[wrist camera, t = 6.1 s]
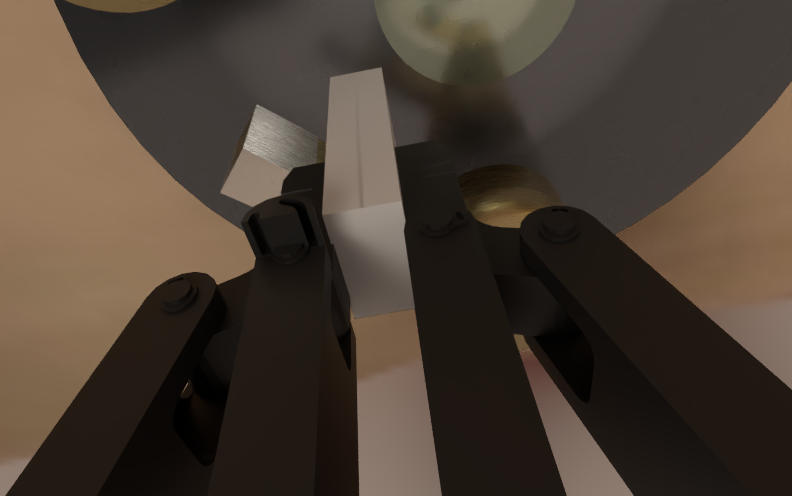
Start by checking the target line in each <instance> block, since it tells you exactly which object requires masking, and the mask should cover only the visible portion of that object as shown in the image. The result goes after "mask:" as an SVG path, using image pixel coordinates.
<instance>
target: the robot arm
mask: <svg viewBox="0 0 792 496" xmlns="http://www.w3.org/2000/svg"><path fill="white" fill-rule="evenodd" d="M241 225H242V227H243V229H244V232H245V234H246V236H247V239H248V241H249V243H250V245H251V248H252V250H253V252H254V254H255V257H256V261H255V266H254V268H253V269H252V270H250V271H249V272H247V273H245V274H243V275H240V276H238V277H236V278H233V279H231V280H228V281H226V282H224V283H221V284H219V285H217V284H216V282H215V280H214V279H213V278H212V277H210V276H209V275H208V274H206V273H199V272H192V273H185V274H181V275H178V276H176V277H173V278H171V279H168V280H167V281H165V282H164V283H162V284H161V285H159V286H158V287H156V288H155V289H154V290H153V291H152V292H151V294H150V295H149V296H148V297H147V298H146V299H145V301H144V302H143V303H142V305H141V306H140V308H139V309H138V310H137V312H136V313H135V315H134V316H133V317H132V319H131V320H130V322H129V323H128V324H127V326H126V327H125V329H124V330H123V331H122V333H121V334H120V336H119V337H118V339H117V340H116V341H115V343H114V344H113V346H112V347H111V348H110V350H109V351H108V353H107V354H106V355H105V357H104V358H103V360H102V361H101V362H100V364H99V365H98V367H97V368H96V369H95V371H94V372H93V374H92V375H91V376H90V378H89V379H88V381H87V382H86V383H85V385H84V386H83V388H82V389H81V390H80V392H79V393H78V395H77V396H76V397H75V399H74V400H73V402H72V403H71V404H70V406H69V407H68V409H67V410H66V411H65V413H64V414H63V416H62V417H61V418H60V420H59V421H58V423H57V424H56V425H55V427H54V428H53V430H52V431H51V432H50V434H49V435H48V437H47V438H46V439H45V441H44V442H43V444H42V445H41V447H40V448H39V449H38V451H37V452H36V454H35V455H34V456H33V458H32V459H31V461H30V462H29V463H28V465H27V466H26V468H25V469H24V470H23V472H22V473H21V475H20V476H19V477H18V479H17V480H16V482H15V483H14V484H13V486H12V487H11V489H10V490H9V491H8V493H7V494H6V496H359V470H358V469H359V467H358V422H357V421H358V420H357V372H356V338H355V334H354V331H353V328H352V324H351V321H350V305H351V309H352V312H353V315H354V318H355V319H357V318H363V317H369V316H374V315H380V314H386V313H392V312H397V311H403V310H409V309H415V313H416V320H417V327H418V333H419V340H420V347H421V354H422V361H423V368H424V374H425V382H426V388H427V395H428V402H429V409H430V416H431V423H432V430H433V437H434V443H435V451H436V458H437V464H438V471H439V478H440V485H441V492H442V496H566V492H565V489H564V486H563V483H562V480H561V477H560V474H559V471H558V468H557V465H556V462H555V459H554V456H553V453H552V450H551V447H550V444H549V441H548V438H547V435H546V432H545V429H544V426H543V423H542V420H541V417H540V414H539V410H538V407H537V404H536V401H535V398H534V395H533V392H532V389H531V387H530V383H529V380H528V377H527V374H526V371H525V368H524V366H523V362H522V359H521V356H520V353H519V350H518V347H517V344H516V341H515V338H514V335H513V334H517V335H523V337H524V339H525V342H526V343H527V345H528V346H529V348H530V349H531V350H532V352H533V353H534V355H535V356H536V357H537V359H538V360H539V362H540V363H541V365H542V366H543V367H544V369H545V370H546V372H547V373H548V374H549V376H550V377H551V379H552V380H553V381H554V383H555V384H556V386H557V387H558V389H559V390H560V392H561V393H562V394H563V396H564V397H565V399H566V400H567V401H568V403H569V404H570V405H571V407H572V409H573V410H574V411H575V413H576V414H577V416H578V417H579V418H580V420H581V421H582V423H583V424H584V425H585V427H586V428H587V430H588V431H589V433H590V434H591V435H592V437H593V438H594V440H595V441H596V442H597V444H598V445H599V447H600V448H601V450H602V451H603V452H604V454H605V455H606V457H607V458H608V460H609V461H610V462H611V464H612V465H613V467H614V468H615V469H616V471H617V472H618V474H619V475H620V477H621V478H622V479H623V481H624V482H625V484H626V485H627V487H628V488H629V489H630V491H631V492H632V493H633V495H634V496H792V390H791V389H790V388H789V387H788V386H787V385H786V384H785V383H783V382H782V381H781V380H780V379H779V378H778V377H777V376H775V375H774V374H773V373H772V372H771V371H770V370H768V369H767V368H766V367H765V366H764V365H763V364H762V363H761V362H759V361H758V360H757V359H756V358H755V357H753V355H751V354H750V353H749V352H748V351H747V350H746V349H745V348H743V347H742V346H741V345H740V344H739V343H738V342H737V341H735V340H734V339H733V338H732V337H731V336H730V335H729V334H727V333H726V332H725V331H724V330H723V329H722V328H720V327H719V326H718V325H717V324H716V323H715V322H714V321H712V320H711V319H710V318H709V317H708V316H707V315H706V314H705V313H703V312H702V311H701V310H700V309H699V308H698V307H697V306H695V305H694V304H693V303H692V302H691V301H690V300H689V299H687V298H686V297H685V296H684V295H683V294H682V293H681V292H679V291H678V290H677V289H676V288H675V287H674V286H673V285H671V284H670V283H669V282H668V281H667V280H666V279H665V278H663V277H662V276H661V275H660V274H659V273H658V272H657V271H655V270H654V269H653V268H652V267H651V266H650V265H649V264H647V263H646V262H645V261H644V260H643V259H642V258H641V257H639V256H638V255H637V254H636V253H635V252H634V251H633V250H631V249H630V248H629V247H628V246H627V245H626V244H625V243H623V242H622V241H621V240H620V239H619V238H618V237H617V236H615V235H614V234H613V233H612V232H611V231H610V230H609V229H607V228H606V227H605V226H604V225H603V224H602V223H601V222H599V221H598V220H597V219H596V218H595V217H594V216H592V215H590V214H589V213H587V212H585V211H584V210H582V209H578V208H574V207H570V206H549V207H544V208H539V209H537V210H535V211H533V212H531V213H529V214H528V215H527V216H526V217H525V218H524V219H523V220H522V222H521V225H520V228H510V227H497V226H491V225H488V224H484V223H482V222H480V221H478V220H476V219H475V218H474V216H473V215H472V213H471V212H470V211H469V210H467V208H466V205H465V202H464V198H463V195H462V192H461V189H460V186H459V183H458V179H457V176H456V173H455V170H454V167H453V164H452V161H451V157H450V154H449V151H448V148H446V147H445V146H444V145H442V144H441V143H440V142H438V141H437V140H431V141H425V142H420V143H415V144H409V145H404V146H399V147H396V143H395V138H394V133H393V127H392V122H391V116H390V111H389V106H388V100H387V95H386V90H385V84H384V79H383V73H382V68H376V69H371V70H365V71H360V72H355V73H350V74H345V75H340V76H335V77H330V88H329V105H328V122H327V139H326V156H325V162H322V163H316V164H311V165H305V166H300V167H295V168H293V169H292V170H291V171H290V173H289V174H288V175H287V176H286V178H285V179H284V180H283V184H282V190H281V196H277V197H274V198H270V199H267V200H265V201H263V202H261V203H259V204H257V205H255V206H254V207H253V208H252V209H251V210H249V211H248V212H247V213H246V214H245V216H244V217H243V219H242V221H241ZM187 382H188V385H187V387H186V389H185V390H184V388H185V386H186V384H187ZM183 390H184V392H183ZM182 392H183V393H182ZM181 393H182V394H181Z"/></svg>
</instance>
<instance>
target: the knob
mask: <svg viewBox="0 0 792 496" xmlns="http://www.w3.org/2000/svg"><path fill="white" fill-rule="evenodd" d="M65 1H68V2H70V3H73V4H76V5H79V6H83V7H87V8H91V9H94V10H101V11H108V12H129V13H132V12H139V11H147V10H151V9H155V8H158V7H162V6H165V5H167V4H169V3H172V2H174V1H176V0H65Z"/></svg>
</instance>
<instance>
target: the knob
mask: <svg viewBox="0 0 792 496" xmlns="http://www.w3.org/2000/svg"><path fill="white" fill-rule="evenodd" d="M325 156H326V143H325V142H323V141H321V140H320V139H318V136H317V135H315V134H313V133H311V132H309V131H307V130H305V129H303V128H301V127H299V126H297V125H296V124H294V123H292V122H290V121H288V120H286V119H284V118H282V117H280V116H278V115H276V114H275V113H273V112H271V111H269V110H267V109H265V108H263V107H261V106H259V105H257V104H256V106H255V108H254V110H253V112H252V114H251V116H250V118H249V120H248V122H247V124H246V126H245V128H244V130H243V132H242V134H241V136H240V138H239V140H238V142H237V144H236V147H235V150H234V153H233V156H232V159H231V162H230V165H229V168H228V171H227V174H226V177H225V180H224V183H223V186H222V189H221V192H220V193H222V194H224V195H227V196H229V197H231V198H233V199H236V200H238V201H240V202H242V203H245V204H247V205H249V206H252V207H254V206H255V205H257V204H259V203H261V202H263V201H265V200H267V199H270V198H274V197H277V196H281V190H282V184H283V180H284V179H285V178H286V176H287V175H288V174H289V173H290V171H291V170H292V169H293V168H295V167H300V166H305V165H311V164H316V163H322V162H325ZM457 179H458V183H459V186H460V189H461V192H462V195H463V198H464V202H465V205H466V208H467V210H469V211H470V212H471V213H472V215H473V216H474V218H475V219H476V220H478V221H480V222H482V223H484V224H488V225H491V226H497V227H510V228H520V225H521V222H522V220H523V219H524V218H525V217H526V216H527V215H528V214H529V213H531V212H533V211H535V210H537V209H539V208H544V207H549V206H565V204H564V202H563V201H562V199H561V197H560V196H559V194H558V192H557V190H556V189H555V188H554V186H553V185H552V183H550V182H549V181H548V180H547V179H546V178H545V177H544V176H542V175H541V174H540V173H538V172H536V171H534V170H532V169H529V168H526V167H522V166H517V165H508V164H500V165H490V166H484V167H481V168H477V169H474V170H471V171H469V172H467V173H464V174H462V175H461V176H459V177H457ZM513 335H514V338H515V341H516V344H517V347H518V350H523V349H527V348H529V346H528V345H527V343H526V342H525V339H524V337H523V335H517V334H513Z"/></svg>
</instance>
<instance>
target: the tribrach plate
mask: <svg viewBox="0 0 792 496" xmlns="http://www.w3.org/2000/svg"><path fill="white" fill-rule="evenodd" d="M54 2H55V4H56V6H57V8H58V10H59V12H60V14H61V16H62V18H63V21H64V23H65V25H66V27H67V29H68V31H69V33H70V35H71V37H72V39H73V42H74V44H75V46H76V48H77V50H78V52H79V54H80V56H81V58H82V60H83V61H84V63H85V65H86V66H87V68H88V69H89V71H90V73H91V74H92V76H93V78H94V79H95V81H96V82H97V84H98V86H99V87H100V89H101V91H102V92H103V94H104V95H105V97H106V99H107V100H108V102H109V103H110V105H111V106H112V108H113V109H114V110H115V112H116V113H117V114H118V115H119V117H120V118H121V119H122V121H123V122H124V123H125V124H126V126H127V127H128V128H129V130H130V131H131V132H132V133H133V135H134V136H135V137H136V139H137V140H138V141H139V142H140V144H141V145H142V146H143V147H144V148H145V149H146V150H147V151H148V152H149V153H150V154H151V155H152V156H153V158H154V159H155V160H156V161H157V162H158V163H159V164H160V165H161V166H162V167H163V168H164V169H165V170H166V171H167V172H168V173H169V174H170V175H171V176H172V177H173V178H174V179H175V180H176V181H177V182H178V183H179V184H181V185H182V186H183V187H184V188H186V189H187V190H188V191H189V192H190V193H192V194H193V195H194V196H195V197H196V198H198V199H199V200H200V201H201V202H202V203H204V204H205V205H206V206H207V207H208V208H210V209H211V210H213V211H214V212H216V213H217V214H219V215H220V216H222V217H223V218H225V219H226V220H228V221H229V222H231V223H232V224H234V225H235V226H237V227H238V228H240V229H241V230H243V231H244V229H243V227H242V225H241V221H242V219H243V217H244V216H245V214H246V213H247V212H248V211H249V210H251V209H252V208H253V207H252V206H249V205H247V204H245V203H242V202H240V201H238V200H236V199H233V198H231V197H229V196H227V195H224V194H222V193H220V192H221V189H222V186H223V183H224V180H225V177H226V174H227V171H228V168H229V165H230V162H231V159H232V156H233V153H234V150H235V147H236V144H237V142H238V140H239V138H240V136H241V134H242V132H243V130H244V128H245V126H246V124H247V122H248V120H249V118H250V116H251V114H252V112H253V110H254V108H255V106H256V104H257V105H259V106H261V107H263V108H265V109H267V110H269V111H271V112H273V113H275V114H276V115H278V116H280V117H282V118H284V119H286V120H288V121H290V122H292V123H294V124H296V125H297V126H299V127H301V128H303V129H305V130H307V131H309V132H311V133H313V134H315V135H317V136H318V139H320V140H321V141H323V142H325V143H326V139H327V122H328V105H329V88H330V77H335V76H340V75H345V74H350V73H355V72H360V71H365V70H371V69H376V68H382V73H383V79H384V84H385V90H386V95H387V100H388V106H389V111H390V116H391V122H392V127H393V133H394V138H395V143H396V147H399V146H404V145H409V144H415V143H420V142H425V141H431V140H437V141H438V142H440V143H441V144H442V145H444V146H445V147H446V148H448V151H449V154H450V157H451V161H452V164H453V167H454V170H455V173H456V176H457V177H459V176H461V175H462V174H464V173H467V172H469V171H471V170H474V169H477V168H481V167H484V166H490V165H500V164H508V165H517V166H522V167H526V168H529V169H532V170H534V171H536V172H538V173H540V174H541V175H542V176H544V177H545V178H546V179H547V180H548V181H549V182H550V183H552V185H553V186H554V188H555V189H556V190H557V192H558V194H559V196H560V197H561V199H562V201H563V202H564V204H565V206H570V207H574V208H578V209H582V210H584V211H585V212H587V213H589V214H590V215H592V216H594V217H595V218H596V219H597V220H598V221H599V222H601V223H602V224H603V225H604V226H605V227H606V228H607V229H609V230H610V231H611V232H612V233H613V234H616V233H618V232H620V231H622V230H623V229H625V228H627V227H629V226H631V225H633V224H635V223H636V222H638V221H639V220H641V219H643V218H644V217H646V216H647V215H649V214H650V213H652V212H653V211H655V210H656V209H658V208H659V207H661V206H662V205H664V204H665V203H667V202H669V201H670V200H672V199H673V198H674V197H675V196H677V195H678V194H679V193H681V192H682V191H683V190H684V189H686V188H687V187H688V186H689V185H691V184H692V183H693V182H695V181H696V180H697V179H698V178H700V177H701V176H702V175H704V174H705V173H706V172H707V171H708V170H709V169H710V168H712V167H713V166H714V165H715V164H716V163H717V162H718V161H719V160H720V159H721V158H722V157H723V156H724V155H726V154H727V153H728V152H729V151H730V150H731V149H732V148H733V147H734V146H735V145H736V144H737V143H738V142H740V141H741V140H742V138H743V137H744V136H745V135H746V134H747V133H748V132H749V131H750V130H751V129H752V128H753V126H754V125H755V124H756V123H757V122H758V121H759V120H760V119H761V118H762V117H763V115H764V114H765V113H766V112H767V111H768V110H769V109H770V108H771V107H772V106H773V104H774V103H775V102H776V101H777V99H778V98H779V97H780V96H781V94H782V93H783V92H784V90H785V89H786V88H787V86H788V85H789V84H790V83H791V81H792V0H176V1H174V2H172V3H169V4H167V5H165V6H162V7H158V8H155V9H151V10H147V11H139V12H132V13H129V12H108V11H101V10H94V9H91V8H87V7H83V6H79V5H76V4H73V3H70V2H68V1H65V0H54Z"/></svg>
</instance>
